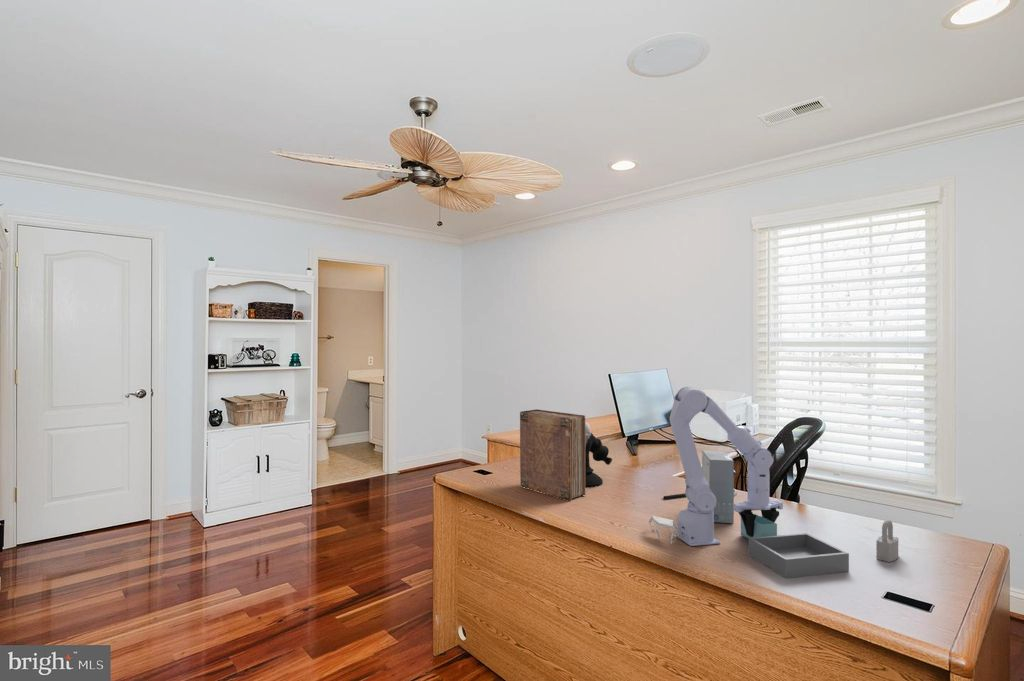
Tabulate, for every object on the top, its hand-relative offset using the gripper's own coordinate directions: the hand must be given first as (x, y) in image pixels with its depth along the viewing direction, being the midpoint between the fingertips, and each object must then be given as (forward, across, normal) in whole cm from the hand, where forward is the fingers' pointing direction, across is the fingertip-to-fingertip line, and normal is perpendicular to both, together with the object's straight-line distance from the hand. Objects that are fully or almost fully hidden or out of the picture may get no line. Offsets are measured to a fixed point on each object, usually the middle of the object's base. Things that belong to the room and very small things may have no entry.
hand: (758, 535), depth 149 cm
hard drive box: (+2, +1, +22) cm, 22 cm away
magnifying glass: (+3, +8, +44) cm, 45 cm away
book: (+2, -45, +59) cm, 74 cm away
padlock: (+2, +26, -17) cm, 31 cm away
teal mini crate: (+1, 0, 0) cm, 1 cm away
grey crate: (+2, 0, -15) cm, 15 cm away
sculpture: (+2, -25, +71) cm, 75 cm away
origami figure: (+2, -25, +9) cm, 27 cm away
